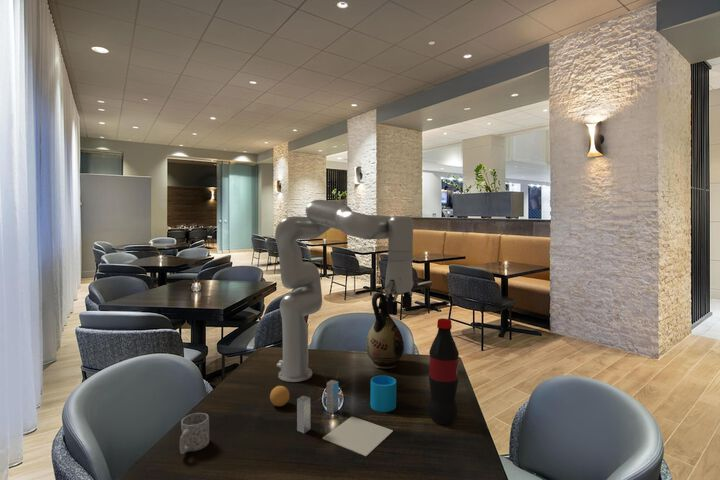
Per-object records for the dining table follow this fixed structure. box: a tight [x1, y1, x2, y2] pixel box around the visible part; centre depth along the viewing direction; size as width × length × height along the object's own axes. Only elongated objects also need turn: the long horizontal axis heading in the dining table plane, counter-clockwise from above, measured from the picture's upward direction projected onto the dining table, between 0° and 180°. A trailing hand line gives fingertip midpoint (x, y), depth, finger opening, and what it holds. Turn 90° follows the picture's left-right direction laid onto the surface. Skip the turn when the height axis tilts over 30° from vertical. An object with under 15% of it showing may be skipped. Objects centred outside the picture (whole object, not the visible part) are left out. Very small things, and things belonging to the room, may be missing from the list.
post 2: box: [326, 379, 339, 414], centre depth 118 cm, size 3×3×9 cm
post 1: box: [296, 395, 311, 434], centre depth 107 cm, size 3×3×9 cm
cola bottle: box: [427, 317, 459, 425], centre depth 113 cm, size 8×8×30 cm
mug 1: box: [179, 412, 210, 455], centre depth 98 cm, size 10×7×7 cm, turn 174°
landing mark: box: [322, 416, 394, 457], centre depth 105 cm, size 14×14×1 cm
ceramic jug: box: [365, 292, 405, 370], centre depth 155 cm, size 17×15×30 cm
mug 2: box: [369, 375, 397, 413], centre depth 124 cm, size 12×8×8 cm
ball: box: [269, 385, 290, 407], centre depth 121 cm, size 6×6×6 cm
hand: (399, 311), depth 119 cm, fingers open, 9 cm apart
